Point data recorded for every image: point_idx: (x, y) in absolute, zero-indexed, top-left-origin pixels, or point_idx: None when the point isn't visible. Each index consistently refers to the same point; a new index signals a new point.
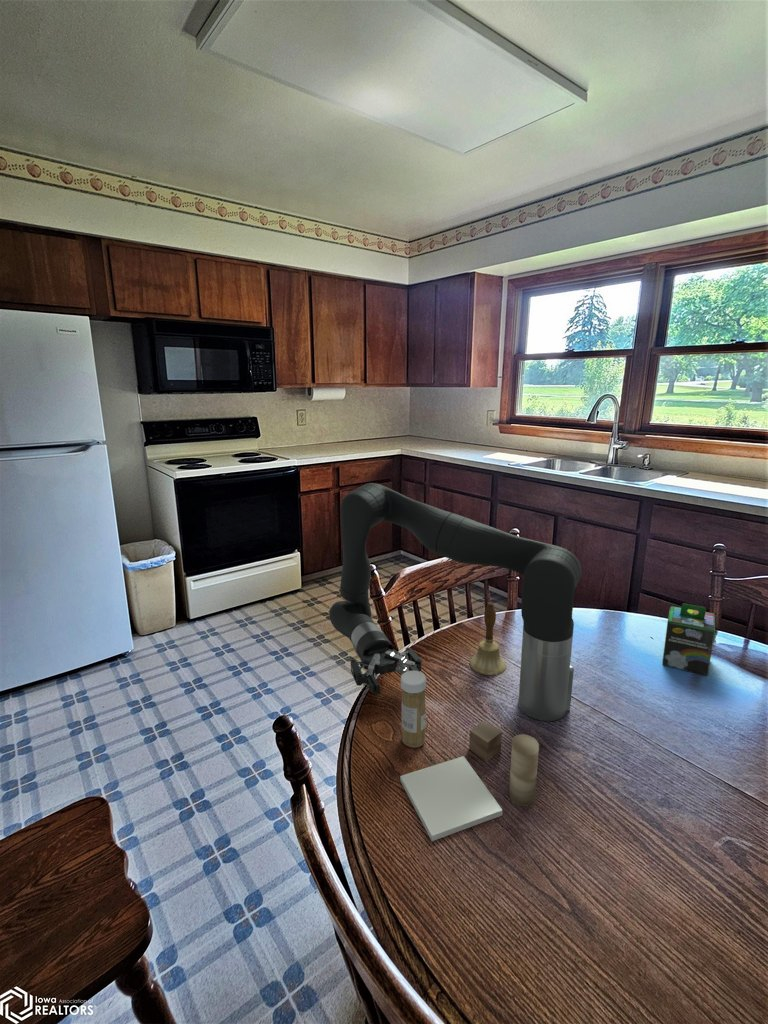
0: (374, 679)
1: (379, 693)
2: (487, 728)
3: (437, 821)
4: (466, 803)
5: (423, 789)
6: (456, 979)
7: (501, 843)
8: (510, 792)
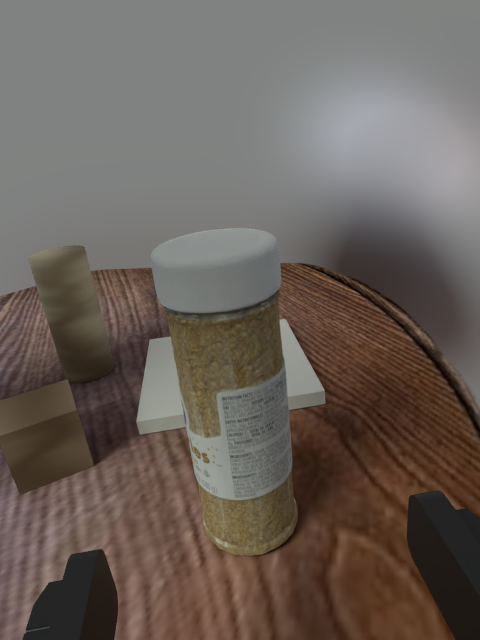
0: (469, 556)
1: (409, 539)
2: (21, 412)
3: None
4: None
5: None
6: (296, 270)
7: None
8: (110, 357)
